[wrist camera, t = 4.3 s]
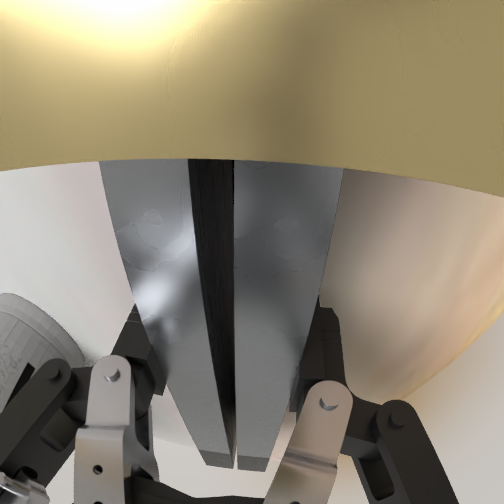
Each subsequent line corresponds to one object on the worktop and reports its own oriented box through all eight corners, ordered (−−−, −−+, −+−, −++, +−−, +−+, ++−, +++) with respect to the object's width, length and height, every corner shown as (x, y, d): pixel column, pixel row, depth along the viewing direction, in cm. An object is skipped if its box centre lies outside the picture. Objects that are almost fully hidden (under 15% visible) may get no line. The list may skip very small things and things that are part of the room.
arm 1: (174, 105, 9) (97, 149, 5) (231, 103, 8) (186, 144, 5) (216, 410, 20) (206, 465, 17) (241, 413, 20) (233, 468, 17)
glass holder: (-19, 290, 17) (-102, 434, 5) (109, 298, 15) (3, 565, 2) (34, 361, 22) (-22, 489, 10) (163, 387, 20) (114, 577, 8)
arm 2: (258, 104, 8) (234, 144, 5) (318, 109, 8) (345, 154, 5) (245, 413, 20) (237, 469, 17) (270, 416, 20) (264, 471, 16)
